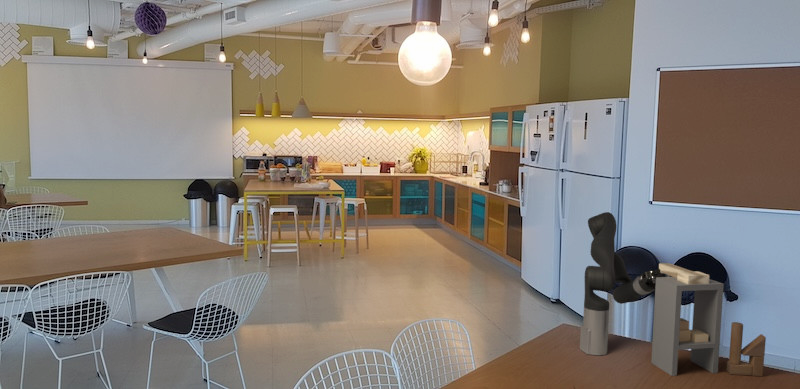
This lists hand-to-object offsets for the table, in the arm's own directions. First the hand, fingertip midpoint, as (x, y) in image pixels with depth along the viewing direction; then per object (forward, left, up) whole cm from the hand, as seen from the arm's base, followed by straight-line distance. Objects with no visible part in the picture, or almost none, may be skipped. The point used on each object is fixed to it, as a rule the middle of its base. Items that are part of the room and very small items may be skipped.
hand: (670, 270), depth 223 cm
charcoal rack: (0, -11, -33) cm, 35 cm away
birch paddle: (0, -6, -1) cm, 6 cm away
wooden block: (+18, -19, -33) cm, 42 cm away
